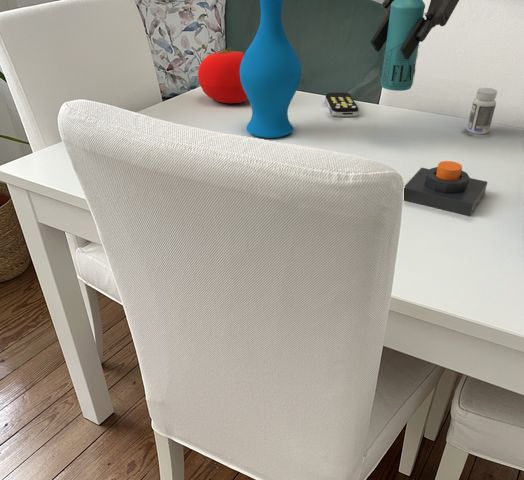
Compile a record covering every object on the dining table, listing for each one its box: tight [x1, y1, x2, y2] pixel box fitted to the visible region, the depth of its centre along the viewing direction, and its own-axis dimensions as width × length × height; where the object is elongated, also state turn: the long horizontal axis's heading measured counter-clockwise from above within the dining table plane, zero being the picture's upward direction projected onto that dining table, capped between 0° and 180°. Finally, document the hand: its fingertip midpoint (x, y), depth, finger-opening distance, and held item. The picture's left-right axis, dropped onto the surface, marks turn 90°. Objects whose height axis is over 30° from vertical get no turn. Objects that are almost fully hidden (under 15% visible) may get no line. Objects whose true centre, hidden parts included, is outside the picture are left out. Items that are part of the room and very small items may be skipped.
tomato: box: [197, 46, 248, 104], centre depth 136 cm, size 12×14×11 cm
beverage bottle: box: [380, 0, 426, 92], centre depth 107 cm, size 6×7×20 cm
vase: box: [240, 0, 302, 139], centre depth 115 cm, size 12×13×28 cm
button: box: [436, 160, 463, 181], centre depth 97 cm, size 4×4×2 cm
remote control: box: [324, 92, 359, 118], centre depth 135 cm, size 6×13×2 cm, turn 4°
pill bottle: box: [466, 87, 498, 135], centre depth 122 cm, size 5×5×8 cm
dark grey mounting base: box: [403, 166, 488, 217], centre depth 99 cm, size 12×10×4 cm
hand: (389, 50), depth 107 cm, fingers closed on beverage bottle, 6 cm apart
